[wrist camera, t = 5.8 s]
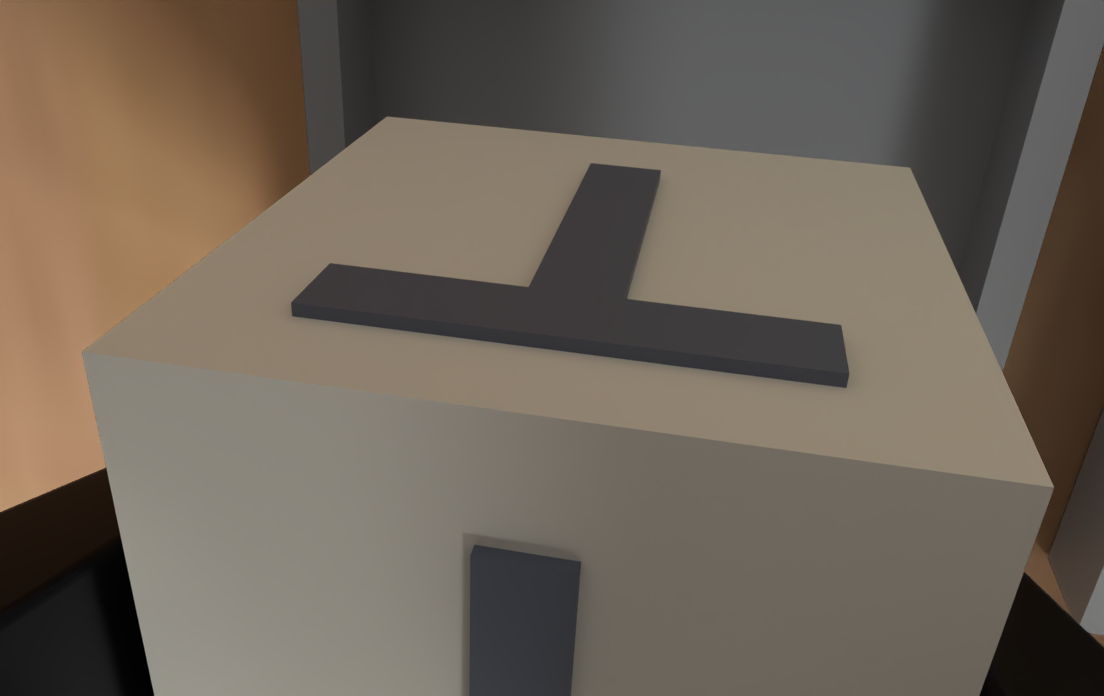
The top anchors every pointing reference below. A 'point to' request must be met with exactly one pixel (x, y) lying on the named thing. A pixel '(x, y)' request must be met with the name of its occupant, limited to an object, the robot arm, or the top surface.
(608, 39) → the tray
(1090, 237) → the top surface
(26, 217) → the top surface
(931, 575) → the letter cube
